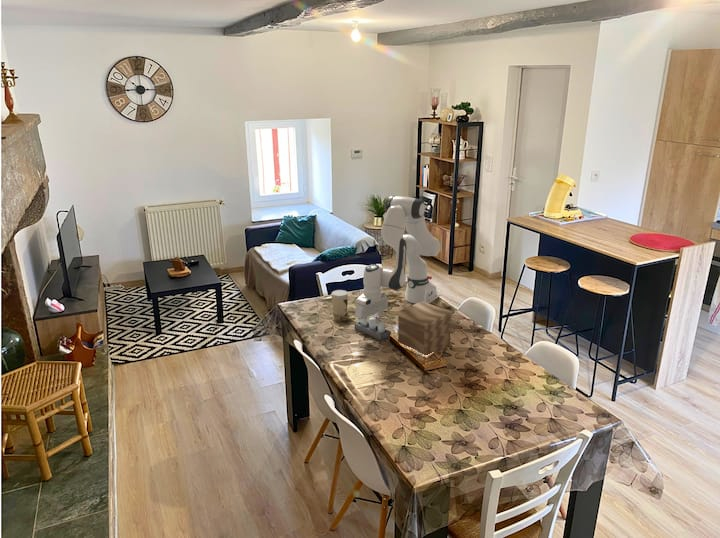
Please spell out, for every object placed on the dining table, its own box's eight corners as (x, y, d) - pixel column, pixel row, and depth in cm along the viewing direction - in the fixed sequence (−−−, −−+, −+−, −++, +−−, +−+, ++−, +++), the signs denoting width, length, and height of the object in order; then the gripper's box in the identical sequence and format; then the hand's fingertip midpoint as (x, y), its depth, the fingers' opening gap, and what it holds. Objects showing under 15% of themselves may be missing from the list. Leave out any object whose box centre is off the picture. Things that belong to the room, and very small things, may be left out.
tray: (363, 324, 294) (363, 311, 291) (390, 337, 280) (390, 322, 277) (354, 328, 289) (354, 314, 287) (381, 341, 276) (381, 326, 273)
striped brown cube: (421, 333, 283) (421, 301, 277) (450, 345, 270) (452, 312, 264) (395, 345, 271) (396, 312, 265) (425, 358, 258) (426, 324, 252)
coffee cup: (348, 315, 305) (347, 296, 301) (331, 316, 305) (330, 296, 301) (348, 309, 313) (348, 289, 309) (332, 309, 314) (331, 289, 310)
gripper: (382, 289, 286) (381, 314, 291) (353, 300, 273) (353, 325, 278) (390, 292, 282) (390, 317, 287) (362, 303, 269) (362, 329, 273)
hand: (372, 321), depth 282 cm, fingers open, 8 cm apart
